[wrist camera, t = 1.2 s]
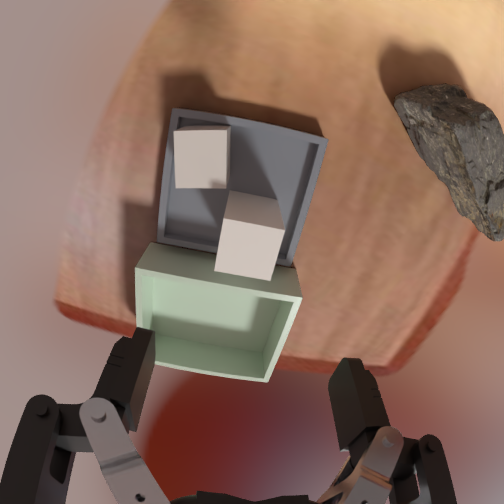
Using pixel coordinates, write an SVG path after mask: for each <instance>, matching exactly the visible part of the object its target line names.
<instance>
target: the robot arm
mask: <svg viewBox="0 0 504 504" xmlns="http://www.w3.org/2000/svg"><path fill="white" fill-rule="evenodd" d="M155 357H156V348H155V331H154V330H150V329H145V328H141V327H137V328H136V330H135V332H134V335H133V337H132V338H128V337H124V336H123V337H122V338H121V339H120V340H119V341H117V342H116V343H115V344H114V347H113V349H112V351H111V353H110V356H109V358H108V360H107V364H106V365H105V367H104V370H103V372H102V374H101V377H100V379H99V382H98V384H97V387H96V390H95V392H94V394H93V396H92V397H91V398H90V399H89V400H87V401H85V402H84V403H81V404H57V403H56V402H55V400H54V399H52V398H51V397H49V396H47V395H36V396H34V397H32V398H31V399H30V400H29V401H28V403H27V405H26V407H25V410H24V412H23V415H22V417H21V420H20V423H19V425H18V428H17V431H16V434H15V436H14V439H13V442H12V445H11V448H10V451H9V454H8V458H7V461H6V464H5V468H4V471H3V475H2V479H1V483H0V504H65V502H66V496H67V491H68V486H69V481H70V476H71V471H72V467H73V462H74V458H75V454H76V452H94V454H95V456H96V458H97V460H98V462H99V465H100V468H101V471H102V474H103V476H104V478H105V480H106V482H107V484H108V485H109V488H110V490H111V492H112V493H113V495H114V497H115V499H116V501H117V502H118V504H385V502H386V500H387V498H388V496H389V501H390V504H457V501H456V497H455V492H454V488H453V484H452V480H451V476H450V472H449V468H448V465H447V461H446V457H445V454H444V450H443V447H442V444H441V442H440V440H439V439H438V438H437V437H435V436H434V435H430V434H427V435H425V436H423V437H422V438H420V439H419V440H416V439H410V438H405V437H403V436H402V434H401V433H400V431H399V430H397V429H396V428H394V427H391V425H390V423H389V419H388V416H387V413H386V410H385V407H384V404H383V401H382V398H381V394H380V391H379V390H378V385H377V382H376V379H375V378H374V377H373V375H372V374H371V373H370V371H369V370H365V369H364V366H363V363H362V361H361V359H359V358H343V359H342V360H341V362H340V363H339V365H338V367H337V368H336V370H335V371H334V373H333V375H332V376H331V378H330V380H329V385H328V391H329V396H330V401H331V406H332V411H333V416H334V421H335V426H336V431H337V437H338V442H339V447H340V451H349V452H350V456H349V457H348V458H347V460H346V461H345V463H344V465H343V466H342V468H341V470H340V471H339V473H338V475H337V476H336V478H335V479H334V481H333V482H332V484H331V485H330V487H329V488H328V489H327V491H326V492H325V493H324V494H322V495H321V497H320V498H319V499H318V500H317V502H314V501H311V500H309V498H308V495H298V496H297V495H296V496H280V497H276V498H271V499H267V500H262V501H257V502H253V501H249V500H245V499H241V498H238V497H234V496H231V495H228V494H222V493H212V492H203V491H197V494H196V495H189V496H185V497H180V498H177V499H175V500H172V501H170V502H169V501H168V499H167V498H166V496H165V495H164V493H163V492H162V490H161V489H160V487H159V486H158V484H157V482H156V481H155V479H154V478H153V476H152V474H151V473H150V471H149V469H148V468H147V466H146V464H145V463H144V461H143V460H142V458H141V456H140V455H139V454H138V452H137V451H136V449H135V447H134V445H133V443H132V441H131V440H130V438H129V436H128V434H129V430H131V431H135V432H136V431H137V427H138V423H139V419H140V416H141V412H142V408H143V404H144V401H145V397H146V393H147V389H148V386H149V382H150V379H151V375H152V372H153V368H154V364H155ZM416 473H417V477H418V481H419V486H420V495H419V491H418V486H417V481H416V476H415V474H416Z"/></svg>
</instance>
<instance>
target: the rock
mask: <svg viewBox="0 0 504 504" xmlns="http://www.w3.org/2000/svg"><path fill="white" fill-rule="evenodd" d="M394 107H395V108H396V110H397V112H398V115H399V117H400V118H401V120H402V121H403V123H404V125H405V126H406V128H407V131H408V134H409V136H410V138H411V140H412V142H413V144H414V146H415V148H416V150H417V152H418V154H419V156H420V157H421V158H422V159H423V160H424V161H425V163H426V165H427V166H428V167H429V168H430V169H431V170H432V171H434V172H435V174H436V175H437V177H438V179H439V180H441V181H442V182H444V183H445V184H446V185H447V187H448V189H449V192H450V194H451V197H452V200H453V202H454V204H455V207H456V208H457V211H458V212H459V214H461V215H462V216H465V217H466V218H469V219H470V220H471V221H472V222H473V223H474V225H475V226H476V228H477V229H478V230H479V231H480V232H482V233H484V234H485V235H486V236H487V237H488V238H489V239H491V240H493V241H502V240H503V239H504V134H503V131H502V128H501V125H500V123H499V121H498V119H497V117H496V116H495V114H494V113H493V111H492V110H491V109H490V108H488V107H487V106H486V105H485V104H483V103H480V102H477V101H475V100H472V99H469V98H467V96H466V94H465V92H464V90H463V88H462V87H461V86H459V85H448V84H446V83H445V84H441V85H434V86H432V85H429V86H421V87H420V88H418V89H415V90H411V91H409V92H403V93H400V94H398V95H396V96H395V100H394Z"/></svg>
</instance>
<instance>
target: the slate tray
mask: <svg viewBox="0 0 504 504" xmlns="http://www.w3.org/2000/svg"><path fill="white" fill-rule="evenodd" d="M193 125H231V149H230V176H229V180H228V184H227V187H226V189H223V188H176V185H175V162H174V131H175V130H177V129H180V128H182V127H184V126H193ZM327 143H328V139H327V138H325V137H322V136H319V135H315V134H312V133H308V132H304V131H300V130H296V129H292V128H288V127H284V126H280V125H275V124H271V123H266V122H262V121H257V120H252V119H247V118H242V117H236V116H231V115H225V114H219V113H213V112H207V111H200V110H193V109H185V108H172V113H171V119H170V125H169V132H168V139H167V146H166V153H165V160H164V168H163V177H162V186H161V195H160V206H159V217H158V230H157V242H159V243H165V244H170V245H175V246H181V247H186V248H191V249H197V250H202V251H208V252H213V253H217V251H218V246H219V240H220V235H221V229H222V224H223V218H224V214H225V209H226V205H227V201H228V196H229V192H230V190H231V191H237V192H242V193H247V194H252V195H257V196H262V197H267V198H272V199H276V200H278V203H279V207H280V211H281V215H282V220H283V224H284V228H285V232H284V236H283V239H282V243H281V246H280V250H279V253H278V257H277V260H276V263H275V264H279V265H284V266H290V267H291V264H292V261H293V257H294V254H295V251H296V248H297V245H298V242H299V238H300V235H301V232H302V229H303V226H304V222H305V219H306V216H307V212H308V209H309V206H310V202H311V199H312V196H313V192H314V189H315V185H316V182H317V179H318V175H319V172H320V168H321V165H322V161H323V157H324V154H325V150H326V147H327Z"/></svg>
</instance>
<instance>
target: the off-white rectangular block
mask: <svg viewBox="0 0 504 504" xmlns="http://www.w3.org/2000/svg"><path fill="white" fill-rule="evenodd" d="M284 232H285V228H284V224H283V220H282V215H281V211H280V207H279V203H278V200H276V199H272V198H267V197H262V196H257V195H252V194H247V193H242V192H237V191H231V190H230V192H229V196H228V201H227V205H226V209H225V214H224V218H223V224H222V229H221V235H220V240H219V246H218V251H217V257H216V263H215V269H214V271H218V272H223V273H229V274H234V275H240V276H245V277H251V278H257V279H263V280H268V281H270V280H271V277H272V274H273V270H274V267H275V263H276V260H277V257H278V253H279V250H280V246H281V243H282V239H283V236H284Z"/></svg>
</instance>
